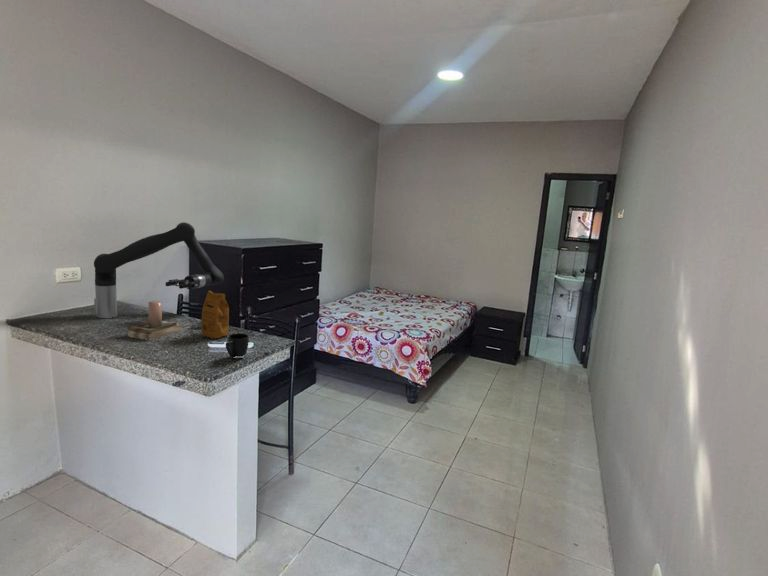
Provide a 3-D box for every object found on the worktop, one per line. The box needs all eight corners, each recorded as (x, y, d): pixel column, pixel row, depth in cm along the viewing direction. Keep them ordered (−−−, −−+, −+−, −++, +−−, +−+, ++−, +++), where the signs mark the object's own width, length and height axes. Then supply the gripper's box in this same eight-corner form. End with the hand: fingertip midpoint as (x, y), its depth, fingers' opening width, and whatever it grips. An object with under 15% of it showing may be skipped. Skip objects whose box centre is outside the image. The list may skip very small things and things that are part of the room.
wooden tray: (127, 336, 193) (127, 326, 193) (160, 326, 212) (160, 316, 212) (149, 340, 190) (149, 330, 190) (180, 329, 209) (180, 320, 209)
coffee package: (214, 330, 213) (215, 288, 209) (231, 336, 207) (232, 292, 203) (197, 334, 204) (197, 291, 201) (214, 340, 199) (215, 295, 195)
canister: (146, 326, 199) (145, 302, 197) (155, 324, 204) (154, 300, 202) (155, 328, 198) (155, 304, 196) (164, 325, 203) (164, 302, 201)
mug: (217, 361, 174) (218, 339, 172) (236, 352, 185) (236, 332, 183) (234, 364, 171) (234, 342, 170) (252, 356, 183) (252, 335, 181)
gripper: (184, 273, 231) (161, 276, 216) (206, 276, 227) (184, 280, 212) (184, 286, 232) (161, 290, 217) (205, 290, 229) (184, 294, 213)
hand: (172, 285), depth 214 cm, fingers open, 8 cm apart
